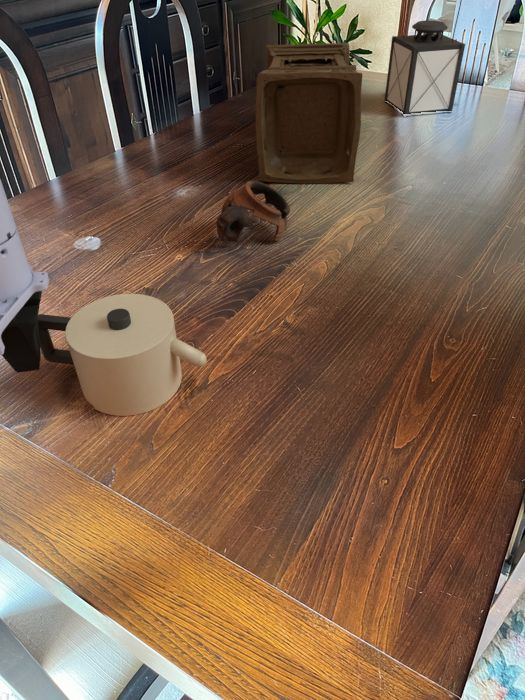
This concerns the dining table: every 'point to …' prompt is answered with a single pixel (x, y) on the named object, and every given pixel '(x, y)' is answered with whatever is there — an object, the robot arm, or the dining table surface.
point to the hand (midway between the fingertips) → (28, 366)
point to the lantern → (424, 69)
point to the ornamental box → (308, 114)
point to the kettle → (121, 352)
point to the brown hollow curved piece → (244, 200)
